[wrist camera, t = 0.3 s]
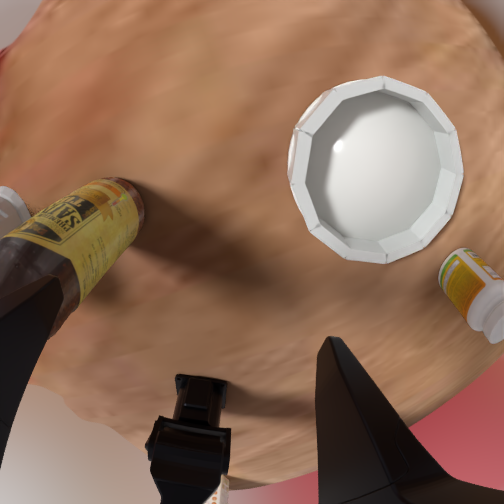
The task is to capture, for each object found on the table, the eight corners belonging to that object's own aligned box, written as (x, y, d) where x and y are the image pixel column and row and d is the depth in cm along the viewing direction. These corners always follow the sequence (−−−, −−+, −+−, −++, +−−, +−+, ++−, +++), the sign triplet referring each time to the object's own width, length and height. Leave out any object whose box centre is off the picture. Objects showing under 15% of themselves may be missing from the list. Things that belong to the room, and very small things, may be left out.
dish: (418, 254, 24) (433, 271, 21) (275, 235, 23) (277, 253, 21) (455, 111, 17) (476, 114, 14) (300, 61, 17) (306, 54, 14)
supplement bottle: (437, 296, 26) (479, 359, 17) (435, 257, 24) (488, 319, 15) (473, 278, 25) (518, 333, 16) (474, 239, 23) (530, 291, 14)
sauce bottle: (138, 166, 21) (-77, 336, 3) (156, 236, 24) (29, 453, 6) (77, 183, 21) (-100, 321, 4) (96, 245, 24) (-33, 412, 7)
